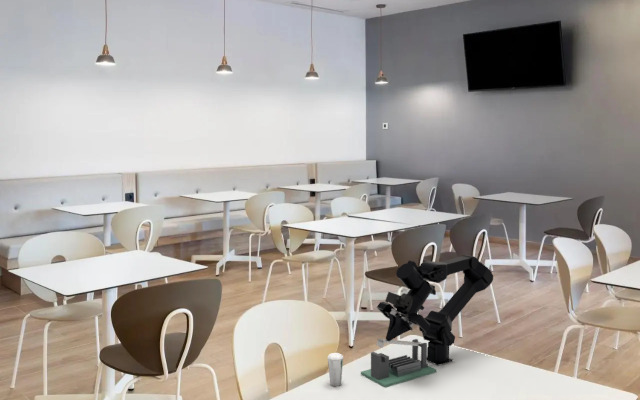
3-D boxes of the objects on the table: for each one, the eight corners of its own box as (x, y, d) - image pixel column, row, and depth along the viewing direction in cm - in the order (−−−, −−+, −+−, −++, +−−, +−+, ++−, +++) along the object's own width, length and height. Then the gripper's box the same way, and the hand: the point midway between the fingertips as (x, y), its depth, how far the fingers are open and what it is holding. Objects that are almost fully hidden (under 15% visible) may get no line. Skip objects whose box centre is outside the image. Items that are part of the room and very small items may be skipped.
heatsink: (405, 363, 191) (405, 354, 190) (421, 370, 185) (421, 361, 185) (382, 369, 186) (382, 360, 186) (397, 377, 180) (398, 368, 180)
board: (411, 360, 195) (411, 357, 195) (436, 372, 186) (436, 369, 186) (360, 374, 185) (360, 371, 184) (384, 387, 175) (384, 384, 175)
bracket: (416, 361, 192) (416, 338, 191) (428, 367, 188) (428, 343, 187) (410, 363, 191) (410, 340, 190) (422, 368, 186) (422, 344, 186)
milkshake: (344, 388, 175) (344, 354, 174) (326, 386, 176) (326, 353, 175) (347, 381, 179) (347, 348, 178) (329, 380, 180) (329, 347, 179)
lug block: (381, 373, 183) (381, 349, 183) (388, 377, 180) (389, 353, 180) (370, 375, 181) (370, 352, 180) (378, 380, 178) (378, 356, 177)
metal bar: (417, 348, 190) (418, 341, 190) (422, 350, 188) (424, 343, 188) (376, 345, 181) (377, 337, 181) (381, 347, 179) (383, 339, 179)
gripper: (381, 275, 190) (352, 316, 185) (423, 288, 174) (392, 333, 170) (401, 296, 195) (373, 337, 190) (442, 310, 179) (414, 355, 175)
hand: (387, 340), depth 181 cm, fingers closed, pressing on metal bar
